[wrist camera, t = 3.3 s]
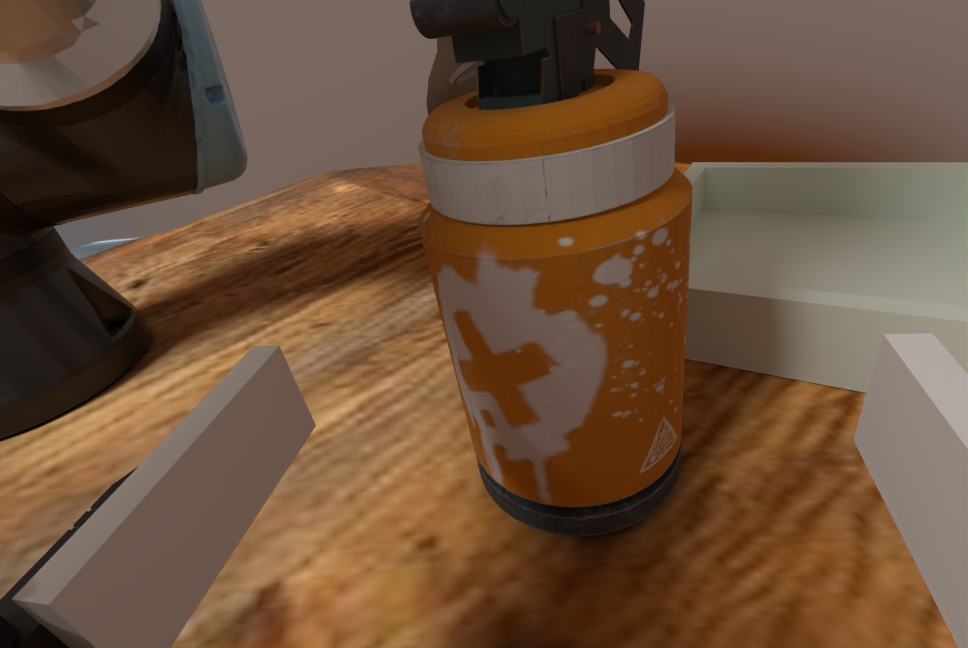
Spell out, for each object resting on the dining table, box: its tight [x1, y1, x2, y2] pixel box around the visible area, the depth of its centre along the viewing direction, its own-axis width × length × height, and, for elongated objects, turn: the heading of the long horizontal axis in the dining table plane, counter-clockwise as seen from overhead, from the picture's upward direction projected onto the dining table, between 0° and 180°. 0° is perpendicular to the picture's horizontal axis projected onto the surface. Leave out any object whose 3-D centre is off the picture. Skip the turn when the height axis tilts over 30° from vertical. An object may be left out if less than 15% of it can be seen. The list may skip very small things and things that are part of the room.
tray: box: [684, 162, 968, 393], centre depth 32 cm, size 20×20×4 cm
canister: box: [410, 0, 693, 536], centre depth 20 cm, size 9×11×20 cm
